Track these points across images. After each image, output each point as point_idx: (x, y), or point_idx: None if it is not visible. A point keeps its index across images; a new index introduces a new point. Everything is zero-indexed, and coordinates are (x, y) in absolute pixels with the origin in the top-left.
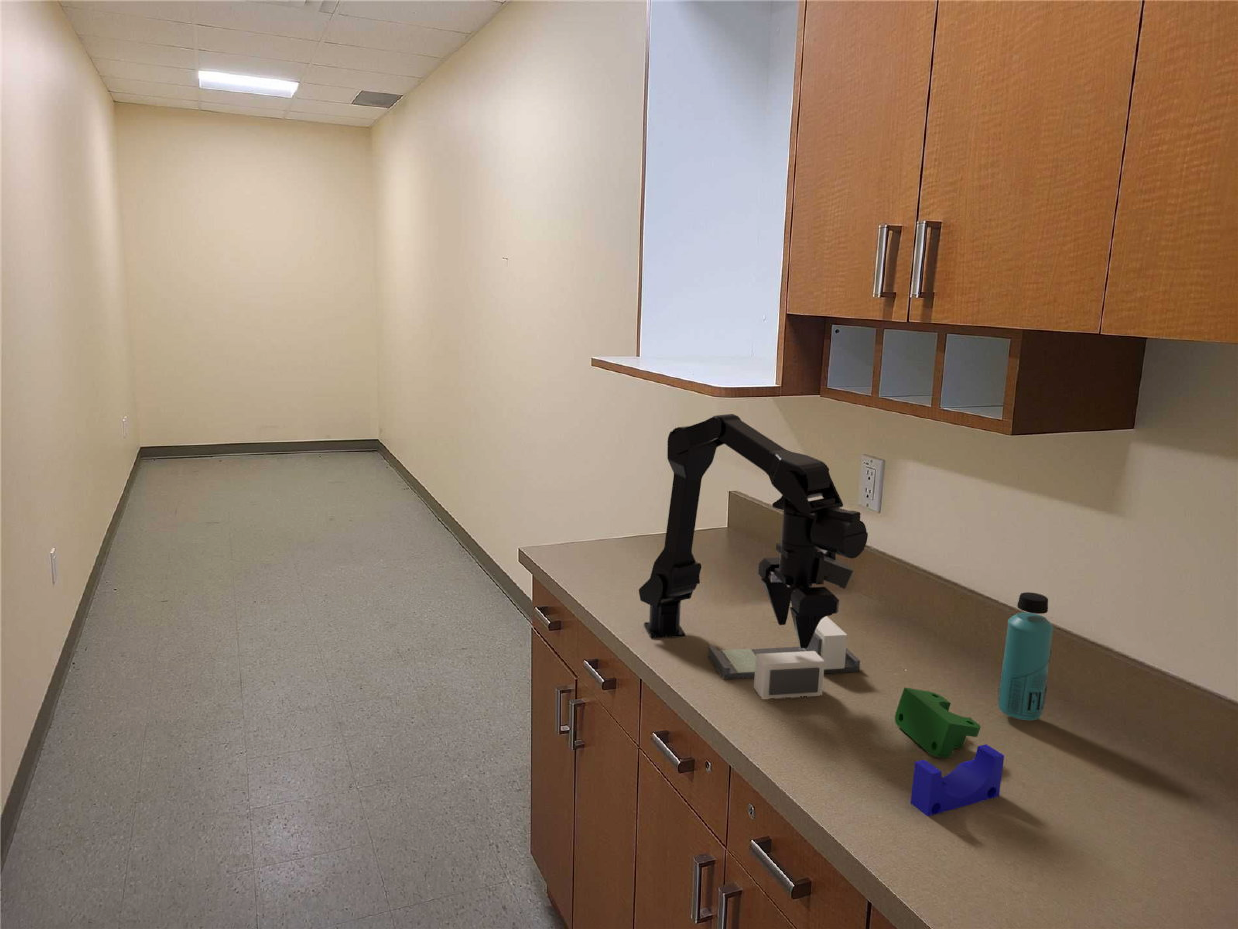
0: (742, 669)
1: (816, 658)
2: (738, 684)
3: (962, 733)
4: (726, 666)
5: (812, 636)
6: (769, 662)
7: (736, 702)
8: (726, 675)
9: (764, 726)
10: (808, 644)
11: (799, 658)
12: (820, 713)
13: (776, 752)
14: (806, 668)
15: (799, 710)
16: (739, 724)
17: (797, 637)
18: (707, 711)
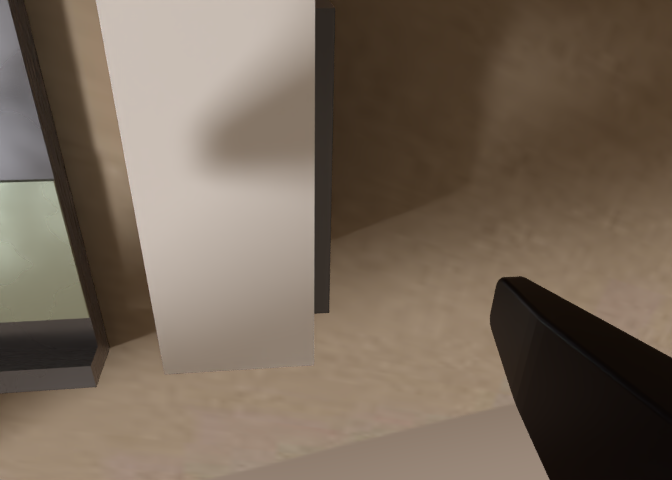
0: (51, 294)
1: (255, 10)
2: None
3: None
4: (75, 376)
5: (631, 336)
6: (291, 338)
7: (314, 343)
8: (102, 352)
9: None
10: (545, 293)
11: (246, 148)
12: (480, 42)
13: (666, 306)
14: (317, 104)
15: (428, 132)
16: (469, 365)
17: (530, 421)
18: (363, 429)
